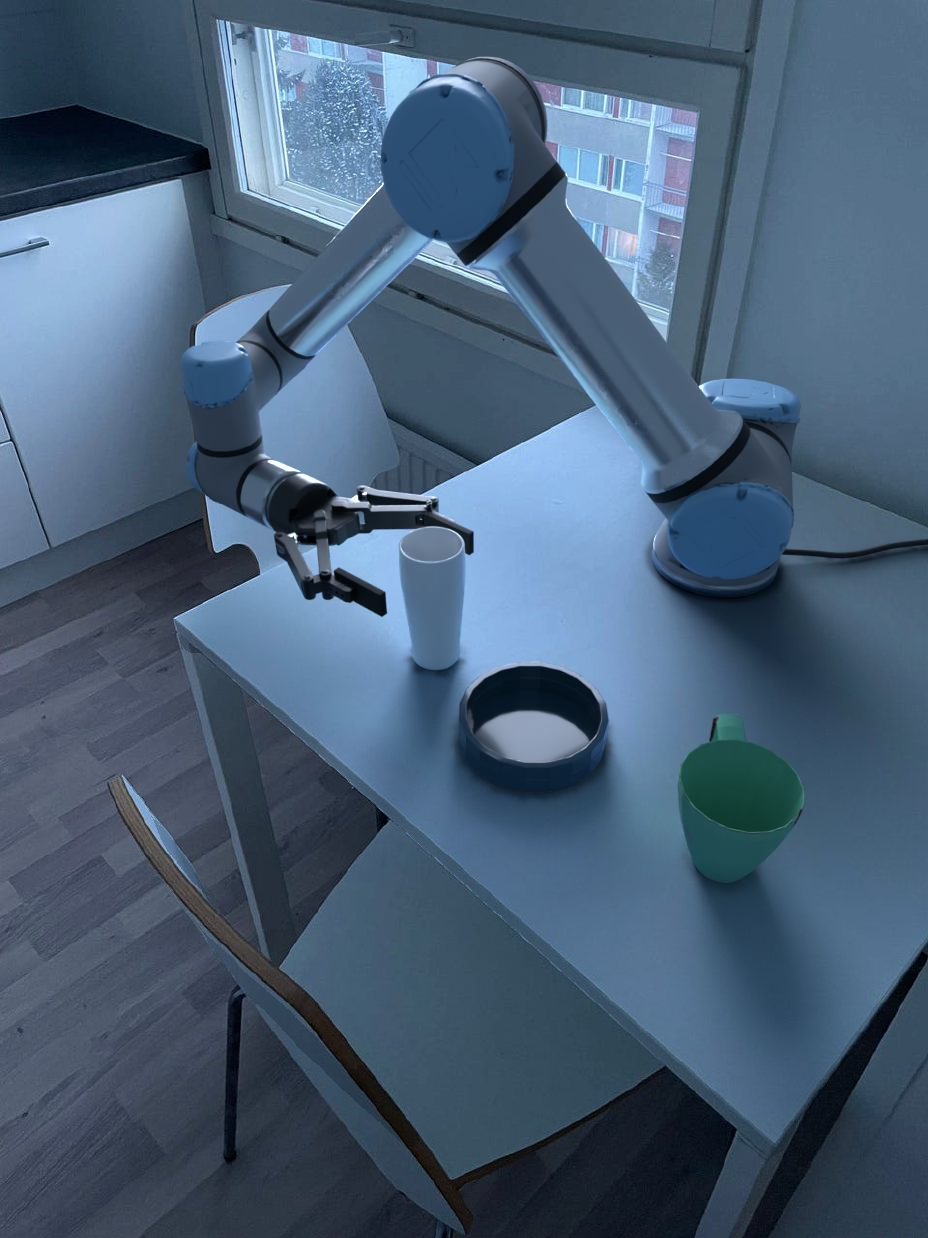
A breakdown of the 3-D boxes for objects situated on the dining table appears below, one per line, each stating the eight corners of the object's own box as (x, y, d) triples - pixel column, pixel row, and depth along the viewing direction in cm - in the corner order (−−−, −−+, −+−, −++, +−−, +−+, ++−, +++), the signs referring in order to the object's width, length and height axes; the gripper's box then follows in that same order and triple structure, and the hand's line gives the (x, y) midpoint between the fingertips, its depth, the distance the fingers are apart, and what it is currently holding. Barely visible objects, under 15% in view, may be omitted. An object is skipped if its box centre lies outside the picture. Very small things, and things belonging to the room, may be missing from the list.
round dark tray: (597, 687, 94) (600, 661, 92) (612, 793, 83) (616, 768, 81) (461, 686, 95) (460, 661, 92) (458, 793, 83) (457, 767, 81)
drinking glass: (445, 685, 95) (441, 571, 85) (393, 663, 98) (384, 550, 88) (478, 649, 99) (478, 537, 90) (427, 629, 102) (422, 518, 92)
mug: (786, 915, 73) (815, 839, 67) (665, 902, 74) (682, 827, 68) (763, 778, 84) (786, 703, 78) (658, 769, 85) (672, 694, 79)
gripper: (369, 488, 112) (503, 548, 101) (209, 580, 97) (345, 663, 87) (365, 433, 107) (504, 491, 97) (195, 522, 92) (338, 602, 82)
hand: (429, 572), depth 92 cm, fingers open, 13 cm apart
